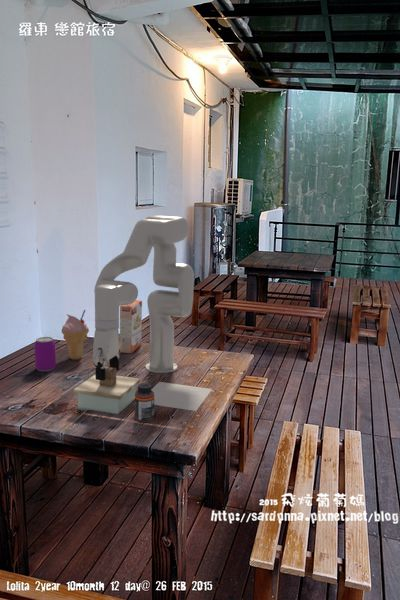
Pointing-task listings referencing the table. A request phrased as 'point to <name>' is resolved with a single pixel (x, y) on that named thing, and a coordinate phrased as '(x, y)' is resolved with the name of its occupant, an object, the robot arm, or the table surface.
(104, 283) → the robot arm
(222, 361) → the table surface
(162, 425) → the table surface
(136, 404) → the supplement bottle
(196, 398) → the mat
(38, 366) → the beverage can
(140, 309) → the cracker box
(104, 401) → the mint green open box
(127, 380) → the cover
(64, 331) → the ice cream cone
